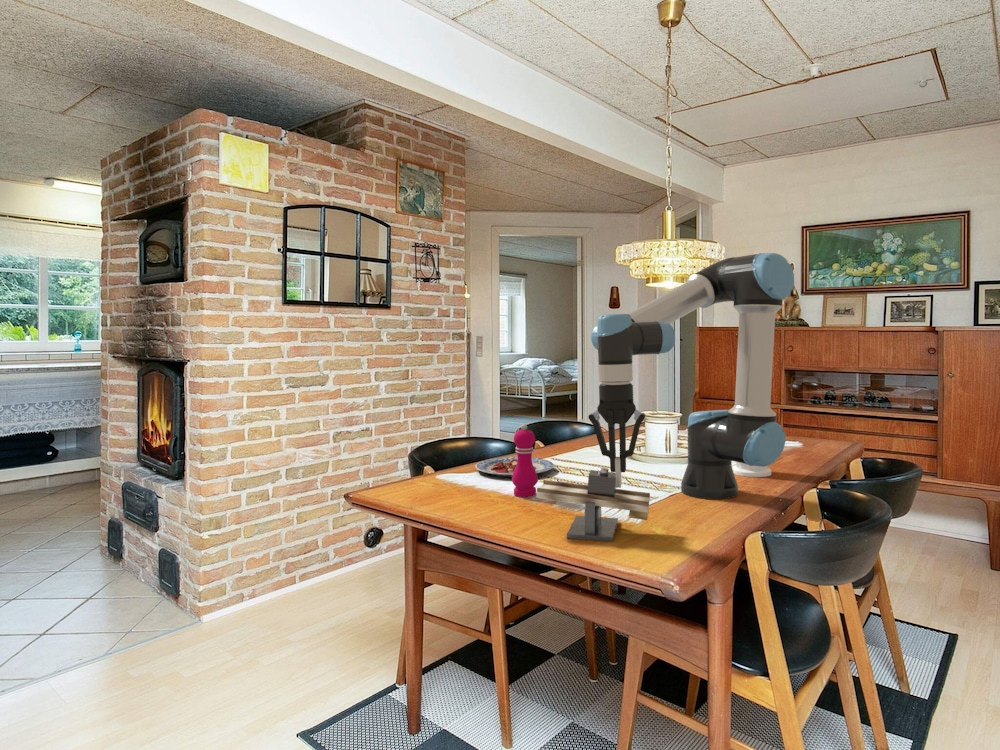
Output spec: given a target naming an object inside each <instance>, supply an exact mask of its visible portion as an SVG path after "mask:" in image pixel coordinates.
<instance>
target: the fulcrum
mask: <svg viewBox="0 0 1000 750" xmlns="http://www.w3.org/2000/svg"><path fill="white" fill-rule="evenodd" d="M584 506H585V507H584V515H576V516H575V517H574V519H573V521H572V524H571V525H570V527H569V529H568V530H567V532H566V539H570V540H584V541H597V542H599V541H600V542H611V543H612V542H614V541H613V540H614V538H615V534H616V529H617V527H618V523H619V521H618V520H619V518H618V517H605V516H602V507H601V506H595V502H585V504H584Z"/></svg>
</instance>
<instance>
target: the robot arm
mask: <svg viewBox="0 0 1000 750" xmlns="http://www.w3.org/2000/svg"><path fill="white" fill-rule="evenodd" d="M788 261H789V260H787V258H785V257H784V255H781V254H778V253H776V252H767V253H766V252H763V253H762V252H760V253H757V254H756V253H755V254H749V255H742V256H736V257H735V256H734V257H733V256H732V257H727V258H724V259H721V260H718V261H717V262H715V263H712V264H711V265H708V266H707V267H706V266H705V268H702V269H701V270H699V271H697V272H695V273H693V274H692V275H689V277H688V278H687V279H686V282H684V283H683V284H681V285H679V286H677V287H675V288H673V289H671V290H669V291H668V292H666V293H664V294H662V295H661V296H658V297H656V298H654V299H653V300H651V301H649V302H647V303H645V304H643V305H642V306H640V307H637V308H636V309H634V310H632V311H630V312H628V313H611V314H602V315H600V316H599V317H598V318H597V325H595V326H594V328H593V329H592V332H591V335H590V341H591V345H592V346H593V347H594V349H596V350H597V355H598V356H597V360H598V361H597V362H598V365H597V367H598V382H600V384H599V385H598V396H599V397H598V398H599V403H598V405H597V407H596V408H597V409H596V410H595V411H593V412H591V413H590V414H588V418H587V419H588V420H589V421H590V422H591V424H592V425H593V428H594V431H595V432H594V433H595V435H596V440H597V442H598V446H599V449H600V453H601V455H602V456H604V457H607V458H609V464H610V465H609V466H610V469H609V471H610V472H613V473H615V475H616V489H621V488H622V473H626V471H627V458H629V457H631V456H632V457H633V455H634V453H635V448H636V444H637V439H638V436H639V432H640V428H641V424H642V423H643V422H644V421H645V418H646V413H644V412H641V411H640V410H638V409H637V408H636V405H635V403H634V385H633V383H631V382H632V381H633V378H634V377H633V373H634V371H633V356H641V355H660V354H665V353H669V352H670V351H671V350H672V349H673V347H674V345H675V343H676V332H675V329H674V327H673V326H672V325H671V324H672V323H674V322H676V321H677V320H680V319H682V318H683V317H685V316H687V315H688V314H690V313H692V312H695V310H697V309H700V308H701V309H705V308H709V307H711V306H712V305H715V304H720V303H724V302H725V303H726V302H733V309H735V310H736V311H737V312H738V314H739V315H738V334H737V353H736V355H737V356H736V372H735V373H736V375H735V390H734V392H735V393H734V394H735V396H734V405H733V406H732V407H731V408H730V409H714V410H701V411H694V412H691V413H689V415H688V419H687V420H688V422H687V426H686V427H687V465H686V468H685V471H684V475H683V477H682V480H681V482H680V483H681V485H680V486H681V487H680V490H681V492H682V493H683V494H685V495H686V496H689V497H690V496H691V497H693V498H694V497H695V498H700V499H708V500H709V499H710V500H711V499H712V500H713V499H714V500H722V499H723V500H726V499H731V498H734V497H737V496H738V494H739V486H738V481H737V479H736V475H735V474H734V472H733V469H732V467H733V466H732V465H733V464H732V462H735V461H736V462H740V463H744V464H747V465H749V466H760V467H765V466H768V467H769V466H771V465H773V464H774V463H775V462H777V460H778V459H780V456H781V455H782V453H783V452H784V449H785V444H786V439H787V438H786V432H785V431H784V428H783V426H782V425H781V424H780V423H778V422H777V413H776V412H775V411H774V410H773V408H772V407H771V401H772V383H773V382H772V381H773V380H772V379H773V359H774V347H775V346H774V345H775V344H774V343H775V342H774V341H775V325H776V314H777V313H778V312H779V311H780V310H781V309H782V308H783V300H784V299H786V298H787V297H789V296H790V295H791V293H792V291H793V290H794V286H795V274H794V271H793V268H792V266H791V264H790V263H789V262H788ZM633 415H634V417H633V420H635V423H634V427H633V430H632V433H631V437H630V442H629V443H630V444H629V447H628V449H627V447H626V446H627V445H626V443H627V442H626V441H627V439H626V426H627V425H626V424H627V423H629V421H630V419H631V417H632V416H633ZM600 416H601V417H602V418H603V420H604V421H605V423H607V427H608V428H607V429H608V447H607V444H606V440H605V437H604V434H603V429H602V427H601V424H600V421H599V420H600ZM616 424H617V425H618V426H619V428H618V429H619V430H618V431H619V456H616V455H617V451H616V449H617V447H616V430H615V429H616Z"/></svg>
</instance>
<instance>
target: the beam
mask: <svg viewBox="0 0 1000 750" xmlns="http://www.w3.org/2000/svg"><path fill="white" fill-rule="evenodd" d="M542 481H543V483H542V485H541V486H540V487H537V488H536V499H542V500H550V501H557V502H562V503H563V502H564V503H572V504H579V505H585V502H595V506H601V508H602V507H603V508H610V509H617V510H624V511H625V510H626V511H629V512H628V513H629V514H628V518H629V519H637V520H642V521H643V520H644V521H648V518H649V510H650V501H651V499H650V498H651V493H650V492H643V491H636V490H630V489H629V490H626V489H621V488H616V492H615V497H608V496H600V495H592V494H587V491H588V484H579V483H571V482H564V481H555V480H554V481H553V480H547V479H544V480H542Z"/></svg>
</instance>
